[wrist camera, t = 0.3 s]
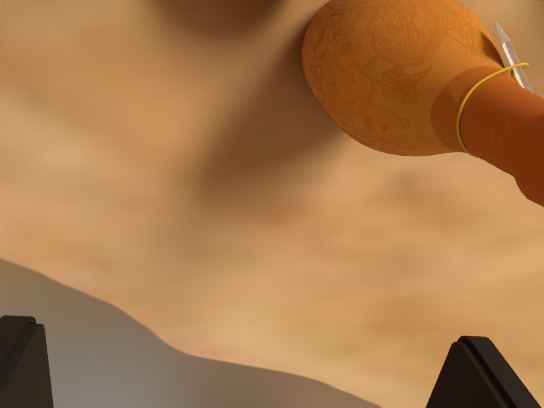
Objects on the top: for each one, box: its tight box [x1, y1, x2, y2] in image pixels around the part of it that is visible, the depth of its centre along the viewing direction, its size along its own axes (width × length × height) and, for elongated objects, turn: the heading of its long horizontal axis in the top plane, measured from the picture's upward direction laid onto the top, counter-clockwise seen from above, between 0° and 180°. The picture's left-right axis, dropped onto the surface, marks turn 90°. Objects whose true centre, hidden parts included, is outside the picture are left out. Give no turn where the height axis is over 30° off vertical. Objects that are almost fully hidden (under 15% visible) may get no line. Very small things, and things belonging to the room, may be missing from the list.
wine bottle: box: [302, 0, 544, 207], centre depth 23 cm, size 10×10×30 cm
